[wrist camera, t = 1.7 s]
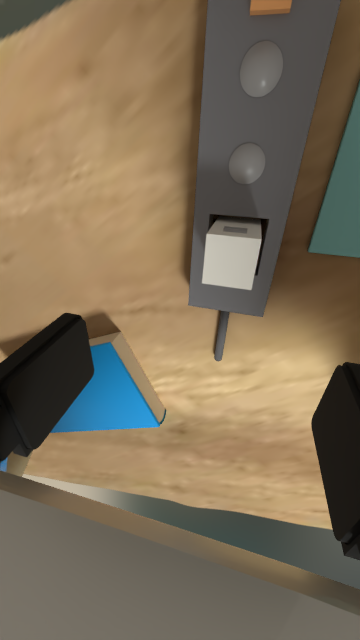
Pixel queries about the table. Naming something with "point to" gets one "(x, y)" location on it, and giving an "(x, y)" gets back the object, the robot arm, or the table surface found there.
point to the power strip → (254, 129)
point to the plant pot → (17, 464)
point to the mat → (342, 196)
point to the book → (113, 392)
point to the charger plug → (232, 252)
